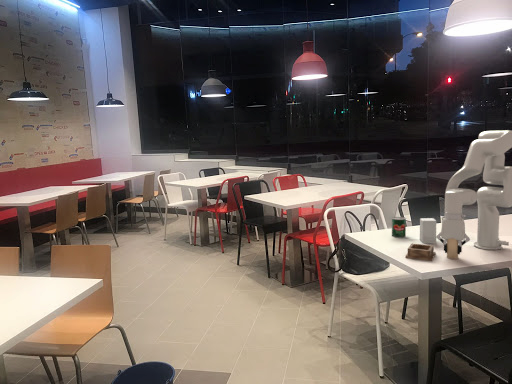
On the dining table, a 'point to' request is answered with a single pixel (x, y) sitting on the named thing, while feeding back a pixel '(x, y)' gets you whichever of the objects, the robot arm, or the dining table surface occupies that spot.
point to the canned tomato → (398, 227)
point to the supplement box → (428, 230)
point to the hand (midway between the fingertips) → (452, 252)
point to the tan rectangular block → (452, 248)
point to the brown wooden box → (421, 252)
